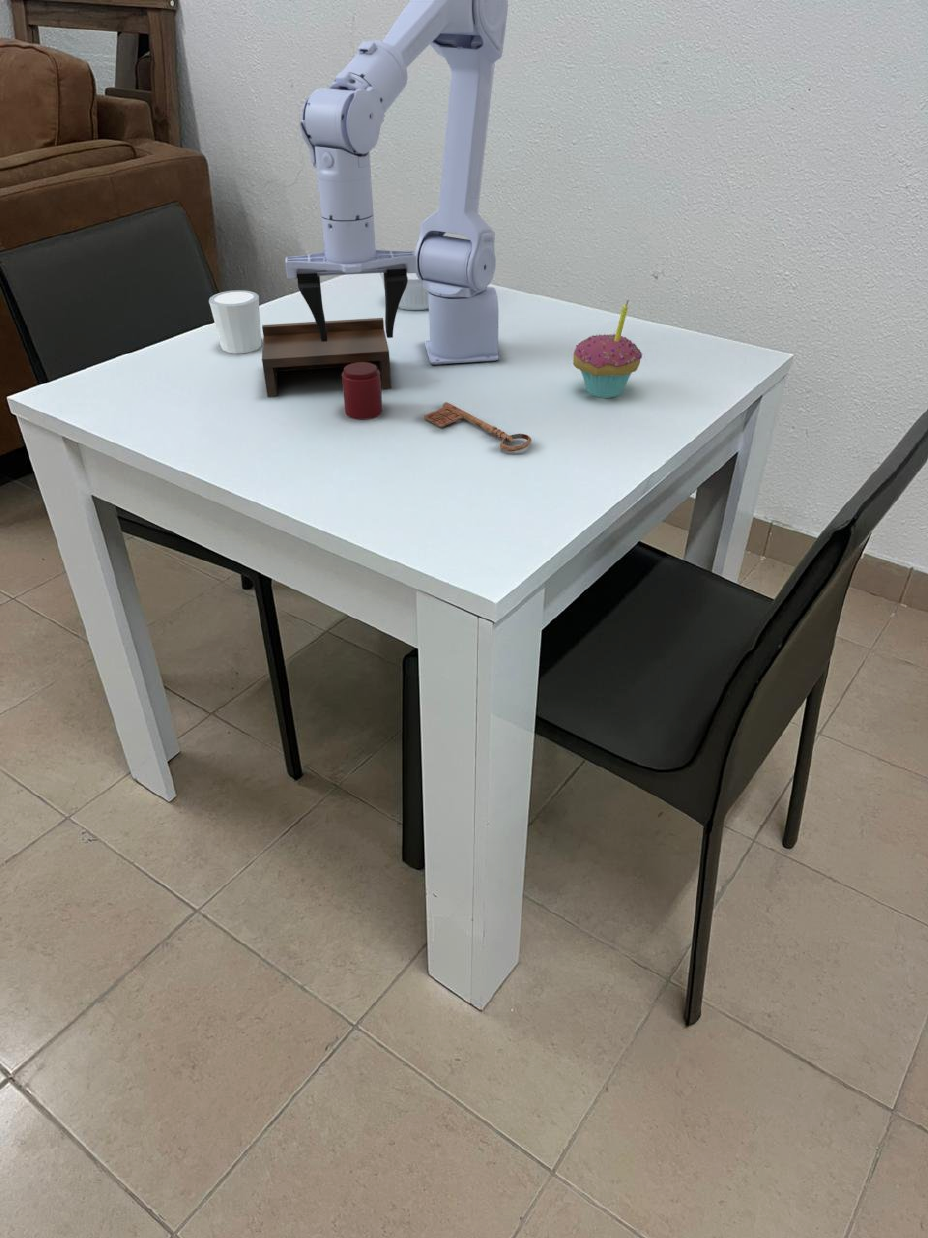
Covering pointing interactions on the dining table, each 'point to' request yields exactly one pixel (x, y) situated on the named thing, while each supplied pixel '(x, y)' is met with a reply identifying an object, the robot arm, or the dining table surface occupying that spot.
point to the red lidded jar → (362, 390)
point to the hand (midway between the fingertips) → (356, 336)
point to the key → (453, 414)
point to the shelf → (324, 348)
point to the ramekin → (413, 294)
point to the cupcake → (607, 361)
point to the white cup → (237, 320)
